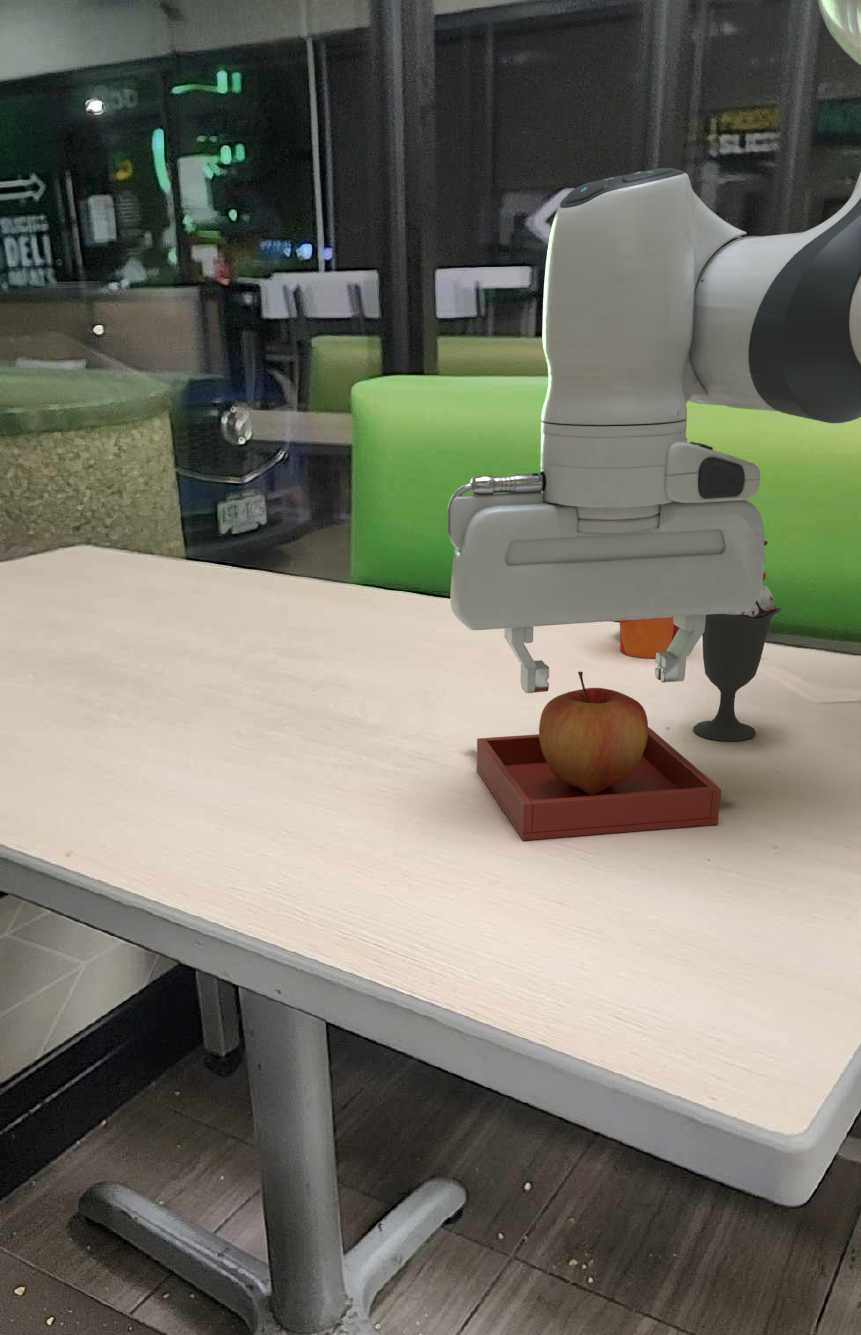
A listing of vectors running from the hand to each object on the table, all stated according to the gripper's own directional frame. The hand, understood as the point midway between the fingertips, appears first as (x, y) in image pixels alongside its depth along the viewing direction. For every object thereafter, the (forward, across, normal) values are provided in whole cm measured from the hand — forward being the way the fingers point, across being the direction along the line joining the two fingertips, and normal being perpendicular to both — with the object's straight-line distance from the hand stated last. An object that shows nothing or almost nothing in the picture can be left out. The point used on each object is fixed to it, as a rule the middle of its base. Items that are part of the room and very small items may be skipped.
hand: (602, 685), depth 78 cm
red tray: (+8, -1, 0) cm, 8 cm away
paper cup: (+8, +17, +37) cm, 42 cm away
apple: (+8, -1, 0) cm, 8 cm away
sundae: (+8, +14, +11) cm, 20 cm away
